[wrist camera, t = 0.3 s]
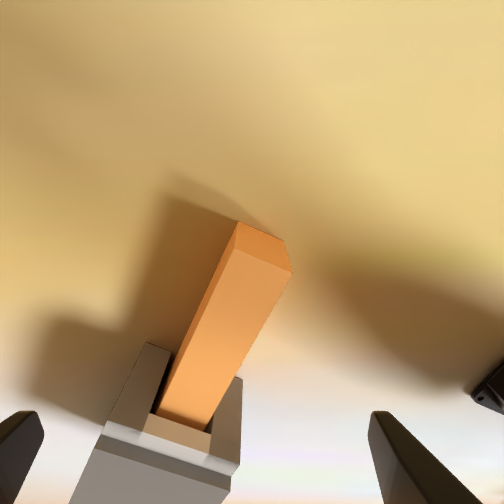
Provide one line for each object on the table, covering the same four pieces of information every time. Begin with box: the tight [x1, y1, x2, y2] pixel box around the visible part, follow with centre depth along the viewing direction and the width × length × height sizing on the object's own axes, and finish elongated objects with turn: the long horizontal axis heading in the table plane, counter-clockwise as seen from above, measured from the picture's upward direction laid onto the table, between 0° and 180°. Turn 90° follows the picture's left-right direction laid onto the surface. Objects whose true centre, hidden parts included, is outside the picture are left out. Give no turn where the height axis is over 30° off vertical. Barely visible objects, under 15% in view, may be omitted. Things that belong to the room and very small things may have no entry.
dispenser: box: [69, 343, 243, 504], centre depth 21 cm, size 10×8×7 cm
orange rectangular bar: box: [150, 221, 293, 432], centre depth 21 cm, size 20×3×5 cm, turn 155°
